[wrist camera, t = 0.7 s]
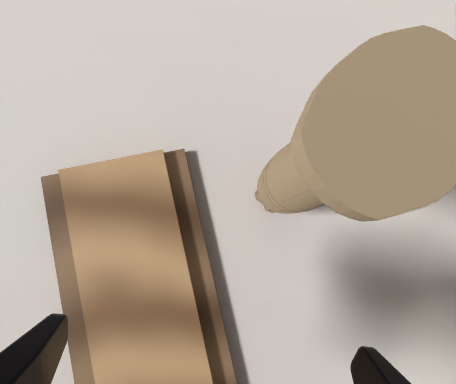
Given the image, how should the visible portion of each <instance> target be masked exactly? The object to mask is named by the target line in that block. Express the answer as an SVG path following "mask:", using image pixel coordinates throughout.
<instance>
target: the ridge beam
mask: <svg viewBox="0 0 456 384" xmlns="http://www.w3.org/2000/svg"><path fill="white" fill-rule="evenodd" d="M58 171H59V174H54V175H49V176H44V177H41V182H42V188H43V194H44V200H45V206H46V212H47V218H48V224H49V231H50V237H51V243H52V249H53V255H54V261H55V267H56V273H57V279H58V285H59V291H60V297H61V304H62V310H63V314H64V315H66V316H67V318H68V339H67V340H68V346H69V352H70V358H71V364H72V370H73V377H74V383H75V384H237V382H236V378H235V373H234V369H233V364H232V360H231V356H230V351H229V347H228V342H227V338H226V333H225V329H224V324H223V320H222V315H221V311H220V306H219V302H218V298H217V293H216V289H215V284H214V280H213V275H212V271H211V266H210V262H209V257H208V253H207V249H206V244H205V240H204V235H203V231H202V226H201V222H200V217H199V213H198V208H197V204H196V200H195V195H194V191H193V186H192V182H191V177H190V173H189V168H188V164H187V159H186V155H185V150H184V149H180V150H175V151H170V152H165V153H164V152H163V150H158V151H153V152H148V153H143V154H138V155H133V156H128V157H123V158H118V159H113V160H108V161H103V162H97V163H92V164H87V165H82V166H77V167H72V168H67V169H62V170H58Z"/></svg>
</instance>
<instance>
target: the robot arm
mask: <svg viewBox="0 0 456 384" xmlns="http://www.w3.org/2000/svg"><path fill="white" fill-rule="evenodd" d="M67 339H68V318H67V316H66V315H64V314H51V315H49V316H48V317H46V318H45V319H44V320H42V321H41V322H40V323H38V324H37V325H36V326H34V327H33V328H32V329H31V330H29V331H28V332H27V333H25V334H24V335H23V336H21V337H20V338H19V339H17V340H16V341H15V342H13V343H12V344H11V345H10V346H8V347H7V348H6V349H4V350H3V351H2V352H0V384H51V382H52V379H53V377H54V374H55V372H56V369H57V366H58V364H59V361H60V359H61V356H62V353H63V351H64V348H65V346H66V343H67ZM351 374H352V378H353V382H354V384H411V383H410V382H409V381H408V380H407V379H406V378H405V377H404V376H403V375H402V374H401V373H400V372H399V371H398V370H397V369H395V368H394V367H393V366H392V365H391V364H390V363H389V362H388V361H387V360H386V359H385V358H384V357H383V356H382V355H381V354H380V353H379V352H378V351H377V350H376V349H374V348H372V347H365V346H361V347H360V348H359V349H358V351H357V353H356V354H355V356H354V358H353V360H352V362H351Z"/></svg>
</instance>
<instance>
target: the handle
mask: <svg viewBox="0 0 456 384" xmlns="http://www.w3.org/2000/svg"><path fill="white" fill-rule="evenodd" d="M455 185H456V40H454V39H453V38H451V37H450V36H449V35H447V34H445V33H443V32H441V31H439V30H436V29H434V28H431V27H428V26H425V25H422V26H417V27H412V28H407V29H402V30H397V31H393V32H388V33H384V34H381V35H379V36H376V37H373V38H371V39H369V40H368V41H366V42H364V43H363V44H361V45H360V46H358V47H357V48H356V49H355V50H354V51H352V52H351V53H350V54H349V55H348V56H346V57H345V58H344V59H343V60H342V61H340V62H339V63H338V64H337V65H336V66H335V67H334V68H333V69H332V70H331V71H330V72H329V73H328V74H327V75H326V76H325V77H324V78H323V79H322V80H321V82H320V83H319V84H318V85H317V87H316V88H315V89H314V90H313V92H312V93H311V95H310V97H309V99H308V101H307V103H306V105H305V107H304V110H303V112H302V114H301V116H300V118H299V121H298V123H297V126H296V128H295V131H294V133H293V136H292V139H291V142H290V143H289V144H288V145H286V146H285V147H284V148H282V149H281V150H280V151H279V152H277V153H276V154H275V155H274V157H273V158H272V159H271V160H270V161H269V162H268V164H267V165H266V166H265V168H264V169H263V171H262V173H261V175H260V177H259V180H258V185H257V191H256V192H255V197H256V200H259V201H260V202H261V203H262V204H263V205H264V207H265V210H266V211H268V212H271V213H274V212H278V213H298V212H303V211H307V210H311V209H314V208H316V207H318V206H321V205H323V204H325V205H326V206H328V207H329V208H330V209H332V210H333V211H335V212H336V213H338V214H341V215H343V216H345V217H348V218H351V219H354V220H358V221H375V220H382V219H386V218H389V217H393V216H396V215H400V214H403V213H407V212H410V211H413V210H416V209H419V208H422V207H425V206H427V205H429V204H431V203H433V202H436V201H438V200H439V199H440V198H441V197H443V196H444V195H445V194H446V193H448V192H449V191H450V190H451V189H452V188H453V187H454V186H455Z"/></svg>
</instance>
